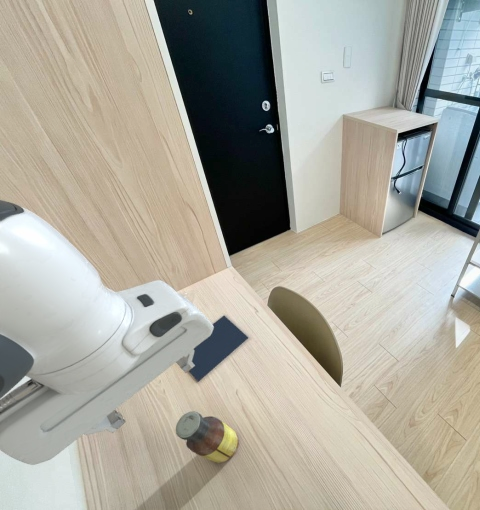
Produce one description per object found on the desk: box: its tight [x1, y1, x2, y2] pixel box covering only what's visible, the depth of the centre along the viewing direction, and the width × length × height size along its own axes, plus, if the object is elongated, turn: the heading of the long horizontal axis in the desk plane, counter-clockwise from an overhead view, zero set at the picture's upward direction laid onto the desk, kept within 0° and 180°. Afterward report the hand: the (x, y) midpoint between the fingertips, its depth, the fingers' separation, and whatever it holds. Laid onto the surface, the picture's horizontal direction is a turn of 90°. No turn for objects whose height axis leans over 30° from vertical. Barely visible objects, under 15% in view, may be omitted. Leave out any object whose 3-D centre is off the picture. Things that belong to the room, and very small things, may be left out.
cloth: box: [188, 315, 249, 383], centre depth 77 cm, size 16×12×1 cm
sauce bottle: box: [175, 410, 240, 464], centre depth 53 cm, size 6×6×20 cm
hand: (155, 392), depth 37 cm, fingers open, 8 cm apart
